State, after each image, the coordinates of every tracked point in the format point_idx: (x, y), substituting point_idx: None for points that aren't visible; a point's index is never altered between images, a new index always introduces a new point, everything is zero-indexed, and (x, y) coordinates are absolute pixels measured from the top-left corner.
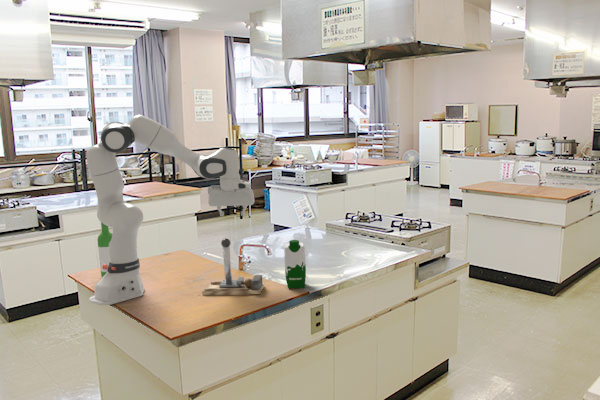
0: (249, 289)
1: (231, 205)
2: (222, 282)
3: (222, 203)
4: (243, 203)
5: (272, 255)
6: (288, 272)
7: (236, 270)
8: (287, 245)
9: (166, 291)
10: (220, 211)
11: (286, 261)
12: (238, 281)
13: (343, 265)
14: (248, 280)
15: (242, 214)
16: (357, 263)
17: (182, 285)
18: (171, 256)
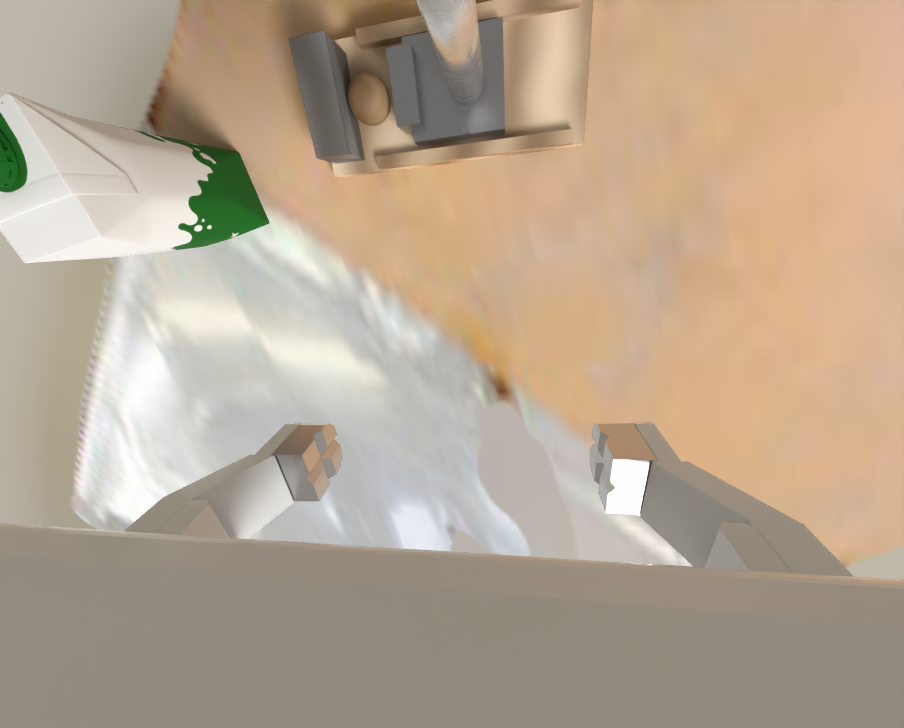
0: (360, 65)
1: (395, 549)
2: (499, 77)
3: (706, 647)
4: (63, 567)
5: (441, 519)
6: (174, 141)
7: (517, 378)
8: (37, 161)
9: (816, 36)
10: (670, 470)
11: (130, 135)
12: (400, 45)
13: (197, 419)
14: (357, 78)
15: (300, 426)
16: (171, 435)
17: (729, 160)
18: (823, 542)
